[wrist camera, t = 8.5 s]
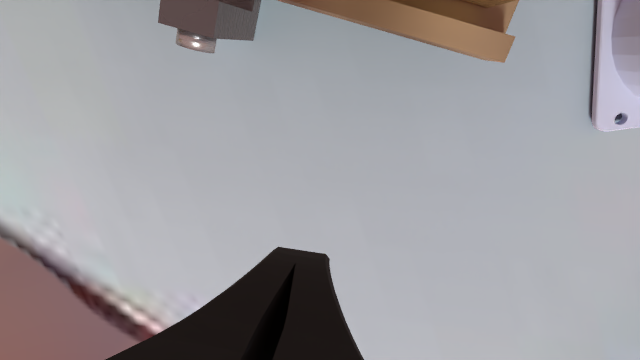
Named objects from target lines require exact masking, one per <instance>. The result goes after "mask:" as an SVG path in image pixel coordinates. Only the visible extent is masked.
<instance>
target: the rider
mask: <svg viewBox="0 0 640 360" xmlns="http://www.w3.org/2000/svg"><path fill="white" fill-rule="evenodd" d="M461 1H464V2H468V3H471V4H474V5H478V6H481V7H485V8H490V7H493V6H497V5H501V4H504V3H508V2H512V1H515V0H461Z"/></svg>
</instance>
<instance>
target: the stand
mask: <svg viewBox="0 0 640 360" xmlns="http://www.w3.org/2000/svg"><path fill="white" fill-rule="evenodd" d="M260 3H261V0H161V1H160V10H159V20H158V23H162V24H165V25H169V26H172V27H176V28H177V36H176V44H177V45H179V46H182V47H185V48H188V49H192V50H196V51H201V52H206V53H214V52H215V46H216V39H233V40H251V41H253V39H254V34H255V29H256V23H257V18H258V13H259V8H260Z"/></svg>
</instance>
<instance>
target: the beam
mask: <svg viewBox="0 0 640 360" xmlns="http://www.w3.org/2000/svg"><path fill="white" fill-rule="evenodd" d="M278 1H281V2H285V3H288V4H292V5H295V6H298V7H302V8H305V9H309V10H312V11H316V12H319V13H323V14H326V15H330V16H333V17H337V18H340V19H344V20H347V21H351V22H354V23H357V24H361V25H364V26H368V27H371V28H375V29H378V30H382V31H385V32H389V33H392V34H396V35H399V36H403V37H406V38H410V39H413V40H416V41H420V42H423V43H427V44H430V45H434V46H437V47H441V48H444V49H448V50H451V51H455V52H458V53H462V54H465V55H469V56H472V57H475V58H479V59H482V60H488V61H496V62H505V60H506V58H507V55H508V53H509V51H510V48H511V46H512V44H513V41H514V39H515V37H514V36H511V35H508V34H505V33H506V30H507V28H508V26H509V23H510V21H511V18H512V16H513V13H514V11H515V9H516V6H517V4H518V1H519V0H515V1H512V2H508V3H504V4H501V5H497V6H493V7H490V8H485V7H481V6H478V5H474V4H471V3H468V2H464V1H461V0H278Z"/></svg>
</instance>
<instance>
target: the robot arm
mask: <svg viewBox="0 0 640 360" xmlns="http://www.w3.org/2000/svg"><path fill="white" fill-rule="evenodd" d="M620 113H621V114H622V118H621V120H620V121H619V122H617V123H615V121H614V119H615V117H616V116H617V115H618V114H620ZM592 125H593V126H594V128H596V129H598V130H600V131H615V130H622V129H630V128H637V127H640V0H598V7H597V27H596V46H595V66H594V85H593V105H592ZM106 360H364V359H363V357H362V355H361V353H360V351H359V349H358V347H357V345H356V343H355V341H354V339H353V337H352V335H351V332H350V330H349V328H348V325H347V323H346V321H345V318H344V316H343V313H342V311H341V308H340V305H339V302H338V299H337V296H336V293H335V290H334V286H333V282H332V278H331V273H330V267H329V258H328V256H327V255H326V254H322V253H315V252H308V251H302V250H295V249H289V248H282V247H277V248H276V249H275V250H273V251H272V252H271V253H270V254H269V255H268V256H266V257H265V258H264V259H263V260H262V261H261V262H260V263H259V264H257V265H256V266H255V267H254V268H253V269H252V270H250V271H249V272H248V273H247V274H246V275H244V276H243V277H242V278H241V279H239V280H238V281H237V282H236V283H234V284H233V285H232V286H231V287H229V288H228V289H227V290H225V291H224V292H223V293H221V294H220V295H218V296H217V297H216V298H214V299H213V300H211V301H210V302H209V303H207V304H206V305H204V306H203V307H202V308H200V309H199V310H197V311H196V312H194V313H192V314H191V315H189V316H188V317H186V318H185V319H183V320H181V321H180V322H178V323H176V324H174V325H173V326H171V327H169V328H167V329H166V330H164V331H162V332H160V333H158V334H157V335H155V336H153V337H151V338H149V339H147V340H145V341H143V342H141V343H139V344H137V345H134V346H132V347H131V348H128V349H126V350H124V351H122V352H120V353H118V354H116V355H114V356H112V357H110V358H108V359H106Z"/></svg>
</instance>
